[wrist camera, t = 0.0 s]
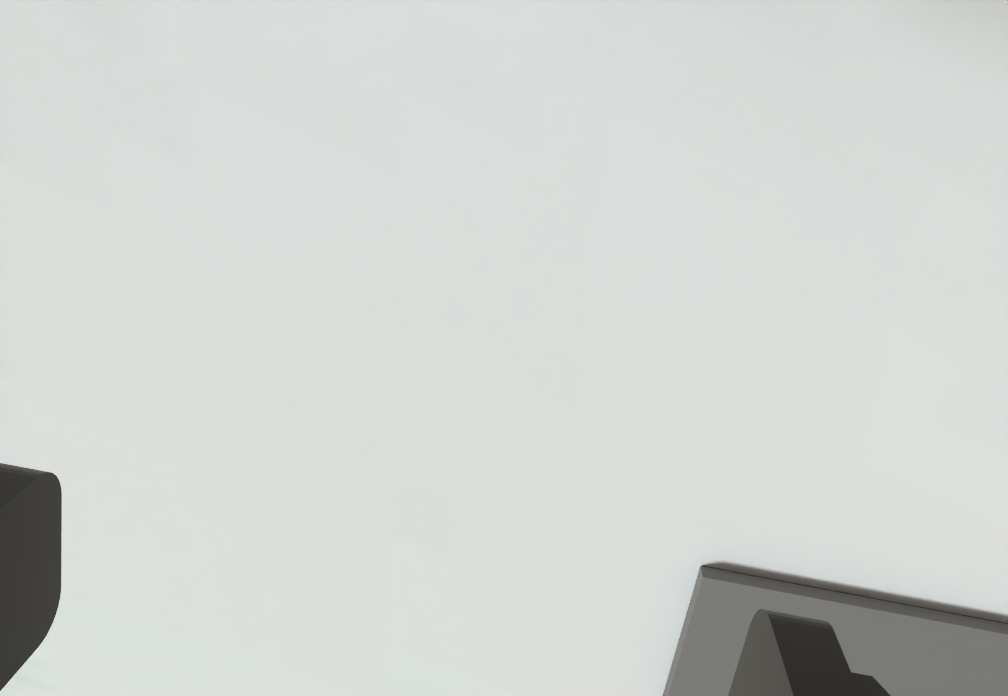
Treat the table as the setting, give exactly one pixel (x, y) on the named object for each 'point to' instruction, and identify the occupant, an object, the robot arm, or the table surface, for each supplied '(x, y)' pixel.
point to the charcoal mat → (840, 638)
